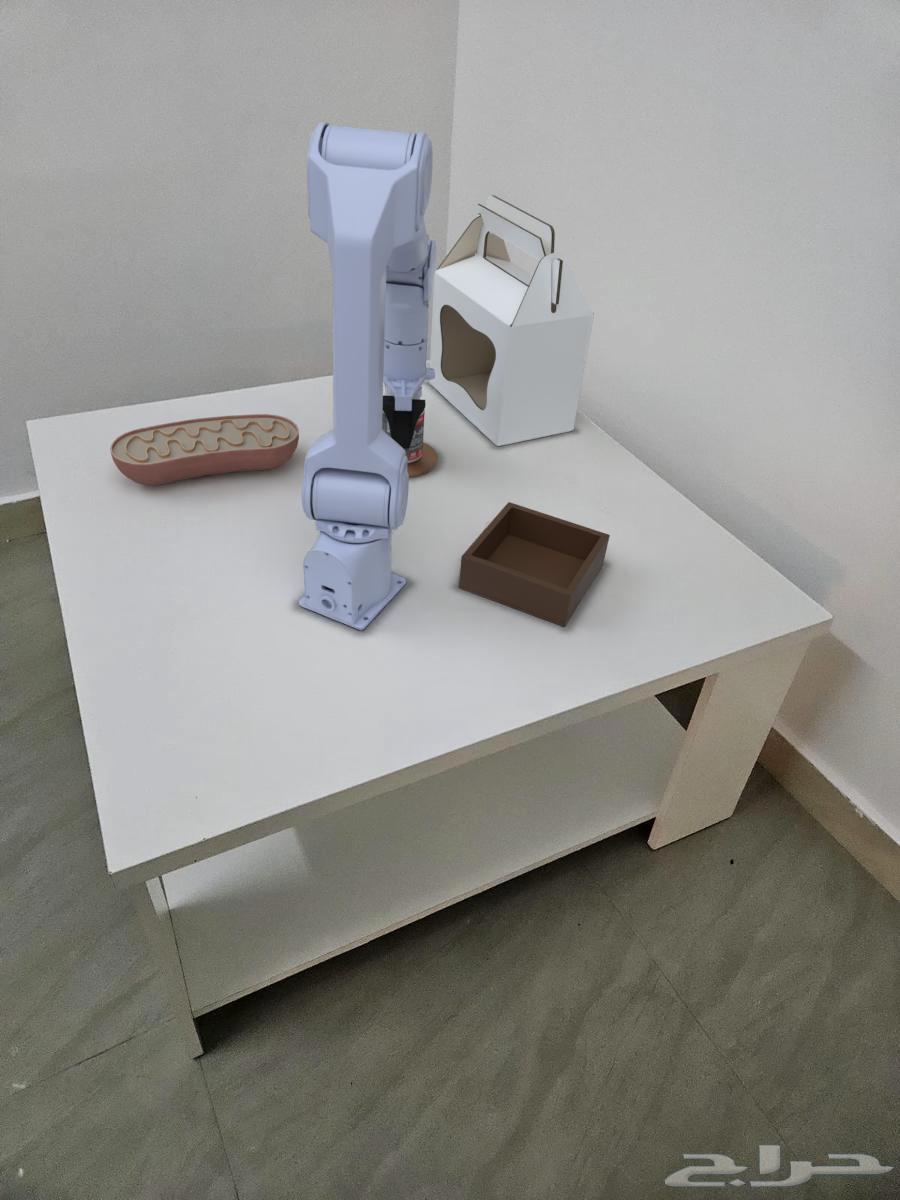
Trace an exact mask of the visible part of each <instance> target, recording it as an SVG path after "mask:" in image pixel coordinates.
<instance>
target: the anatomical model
mask: <svg viewBox="0 0 900 1200" xmlns="http://www.w3.org/2000/svg"><path fill="white" fill-rule="evenodd" d="M299 439H300V430H299V426H298V425H297V423H295V422H294V421H293V420H291V419H289V418H287V417H284V416H281V415H277V414H270V413H269V414H268V413H263V414H262V413H257V414H255V413H253V414H235V415H221V416H220V415H219V416H209V417H199V418H192V419H185V420H178V421H172V422H166V423H162V424H156V425H151V426H146V427H140V428H137V429H132V430H129V431H127V432H124V433H122V434H120V435H119V436H117V437H116V438H115V439H114V440H113V441H112V442H111V444H110V448H109V451H110V455H111V458H112V461H113V463H114V465H115V467H116V468H117V469H118V471H120V473H121V474H122V475H123V476H124V477H126V478H127V479H128V480H130V481H132V482H135V483H138V484H139V485H140V484H141V485H145V486H159V485H163V484H168V483H172V482H177V481H181V480H186V479H187V480H188V479H192V478H198V477H203V476H208V475H217V474H224V473H225V474H226V473H233V472H246V471H247V472H248V471H262V470H272V469H276V468H279V467H281V466H283V465H285V463H287V462H288V461H289V460H290V459H291V458H292V457H293V455H294V454H295V452H296V450H297V448H298V444H299Z"/></svg>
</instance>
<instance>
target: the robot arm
mask: <svg viewBox="0 0 900 1200" xmlns="http://www.w3.org/2000/svg"><path fill="white" fill-rule="evenodd" d="M433 155H434V153H433V143H432V140H431V139H430V137H429V136H428V134H427V133H426V131H417V132H407V131H398V130H397V131H396V130H386V129H376V128H368V127H367V128H366V127H355V126H345V125H337V124H336V125H334V124H330V123H329V122H324V121H321V122H319V123H318V124H317V126H316V127H315V128H314V129H313V131H312V132H311V135H310V139H309V143H308V150H307V156H306V188H307V189H306V190H307V192H306V193H307V216H308V218H309V227H310V228H309V229H310V232H311V233H312V234H313V235H315V236H316V237H318V238H319V239H321V240H322V241H324V242H325V243H326V244H327V248H328V255H329V262H330V269H331V280H332V281H331V284H332V285H331V294H332V295H331V302H332V303H331V305H332V306H331V307H332V310H331V311H332V313H331V315H332V403H333V405H332V406H333V407H332V408H333V409H332V411H333V414H332V415H333V416H332V419H333V423H332V424H333V428H332V429H330V430H329V431H327V432H326V433H324V434H322V435H321V436H319V437H318V438H316V439H314V441H313V442H312V443H311V444H310V446H309V448H308V450H307V452H306V453H305V457H304V463H303V464H304V465H303V466H304V468H303V469H304V470H303V477H302V484H301V507H302V511H303V513H304V515H306V518H307V519H308V520H310V521H315V530H316V531H318V532H319V533H318V536H317V539H316V541H315V543H314V544H313V546H312V547H311V548H310V550H308V551H307V553H306V554H305V556H304V558H303V565H302V568H303V580H304V595H303V596H302V597H301V598H300V599H299V601H298V604H299V606H300V607H302V608H305V609H307V610H310V611H312V612H315V613H317V614H320V615H322V616H325V617H326V618H329V619H332V620H334V621H336V622H340V623H342V624H345V625H347V626H349V627H351V628H354V629H356V630H360V631H362V630H365V628H366V627H367V626H368V625H369V624H371V622H372V621H373V620H374V619H375V618H376V617H377V615H379V613H380V612H381V611H382V610H384V607H386V606H387V605H388V604H389V602H390V601H391V600H392V599H393V598H394V597H395V596H396V595H397V594H398V593H399V591H401V589H402V588H404V586H405V585H406V584H407V578H405V577H403V576H400V575H397V574H395V573H393V572H392V544H393V543H392V540H393V531H397V530H398V529H399V528H400V527H401V526H402V525H403V524H404V521H405V519H406V513H407V507H408V501H409V490H410V486H409V485H410V480H409V479H410V478H409V476H408V473H407V456H405V455H406V451H405V450H404V449H409V448H410V445H411V442H412V438H413V434H414V430H415V426H416V423H417V421H418V419H419V417H420V415H421V414H422V412H423V411H424V409H425V410H426V405H427V404H426V399H421V398H420V399H412V397H413V396H414V394H415V393H416V392H417V391H418V389H419V388H420V387H421V386H422V387H423V384H425V382H426V381H429V380H432V379H434V378H435V370H434V369H433V368H430V367H427V354H428V335H429V333H428V332H429V314H430V313H429V312H430V311H429V309H430V301H431V299H432V295H433V294H432V293H433V283H434V274H435V271H436V265H437V243H436V240H435V239H433V240H432V239H430V235H429V234H427V230H426V224H425V219H424V217H425V213H426V210H427V208H428V206H429V202H430V197H431V190H432V179H433V162H434V161H433V158H434V157H433ZM386 386H387V388H388V389H389V390H390V391H391V393H392V394H393V395H394V396H386V394H385V395H384V388H385V387H386ZM382 410H383V412H384V413H385V415H386V418H387V420H388V423H389V428H390V434H391V437H390V436H389V435H388V434H386V433H385V432H384V431H383V429H382ZM403 448H404V449H403Z"/></svg>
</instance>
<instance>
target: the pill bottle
mask: <svg viewBox="0 0 900 1200" xmlns="http://www.w3.org/2000/svg"><path fill="white" fill-rule="evenodd" d="M384 388H385V392H384V394H385V395H386V396H394V395H393V394H392V393H391V391H390V390H389V389H388V388H387V386H386V387H385V386H384ZM422 397H423V385H422V386H421V387H420V388H419V389H418V391H417V392H416V393H415V394H414V396H413V397H412V399H421V398H422ZM425 411H426V408H425V409H424V411H423V412H422V414H421V415H420V417H419V419H418V421H417V423H416V426H415V430H414V434H413V438H412V442H411V445H410V448H409V449H404V448H403V449H404V450H405V451H406V455H405V456H407V463H412V462H415V461H417V460H418V459H419V458H420V457H421V456H422V452H423V442H424V433H425V430H424V429H425ZM382 429H383V431H384V432H385V433H386V434H388V435H389V436H390V437H391V434H390V428H389V423H388V420H387V418H386V415H385V413H384V412H383V410H382Z"/></svg>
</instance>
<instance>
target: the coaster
mask: <svg viewBox="0 0 900 1200" xmlns="http://www.w3.org/2000/svg"><path fill="white" fill-rule="evenodd" d="M437 464H438V453H437V451H436V450H435V449H434V448H433V447H432V446H431V445H429V444H428V443H427V442H424V441H423V452H422V456H421V457H420V458H419V459H418V460H417V461H415V462H412V463H407V473H408V476H409V479H411V478H417V477H420V476H424V475H426V474H429V473H430V472H431V471H433V470H434V469H435V468H436V466H437Z"/></svg>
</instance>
